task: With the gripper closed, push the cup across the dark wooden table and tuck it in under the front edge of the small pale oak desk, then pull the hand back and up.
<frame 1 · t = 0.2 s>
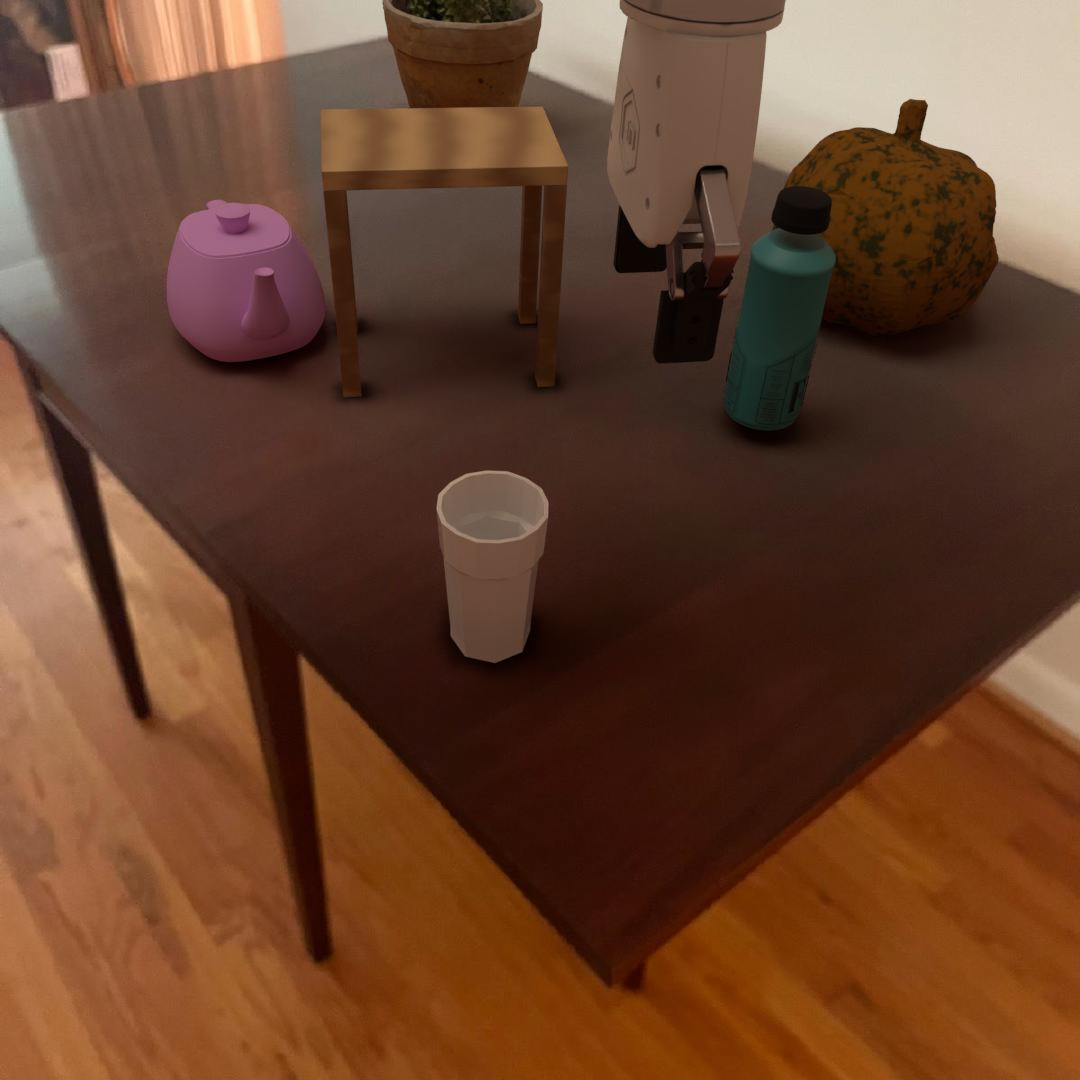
hand: (659, 312, 59), 21 cm above the table, tool pointing down, fingers open, 9 cm apart
decorative pumpkin: (864, 308, 104), on the table
beverage bottle: (755, 425, 88), on the table
cup: (490, 634, 69), on the table
desk: (444, 354, 94), on the table
teapot: (255, 339, 94), on the table
potted plant: (464, 137, 131), on the table
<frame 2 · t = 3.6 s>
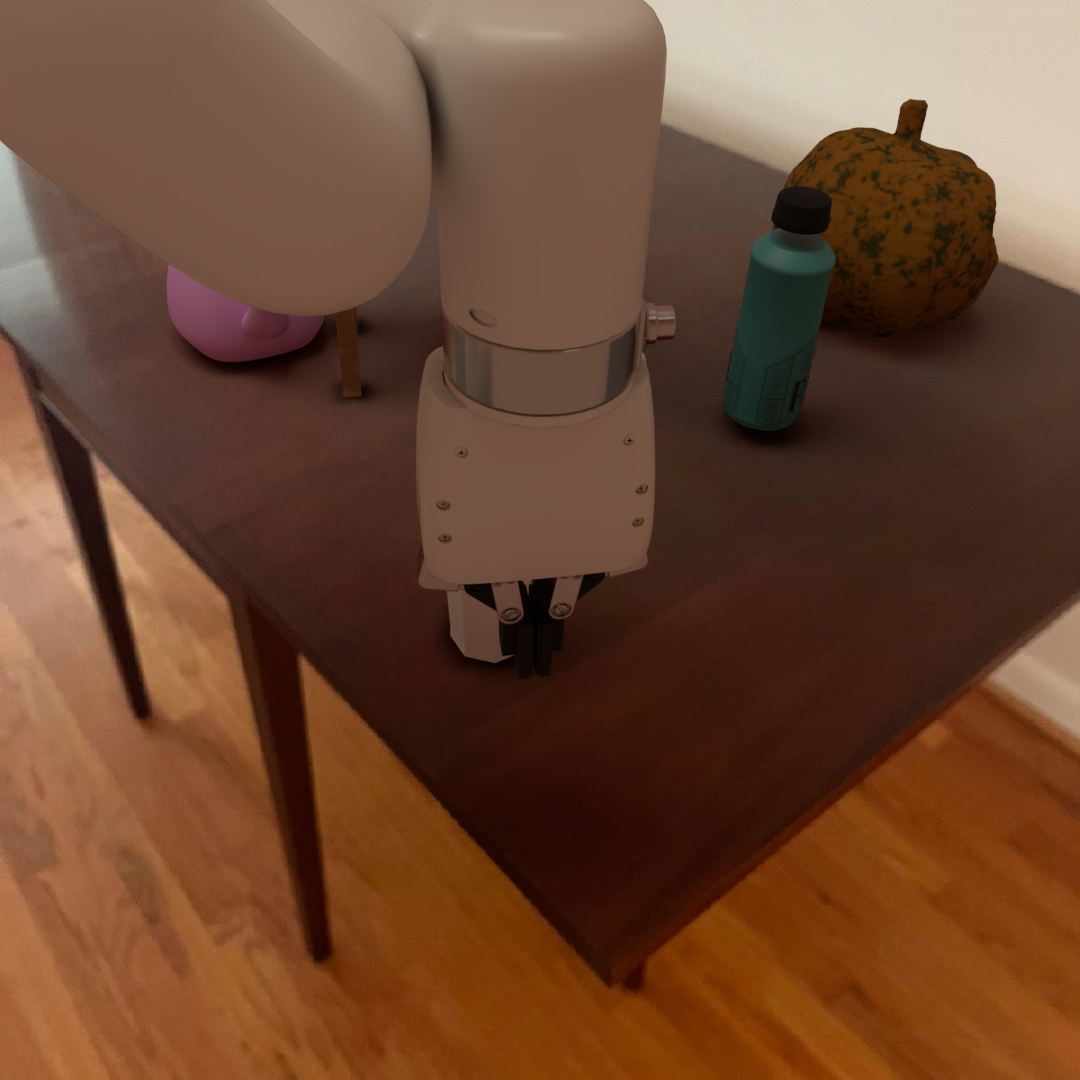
hand: (529, 656, 53), 11 cm above the table, tool pointing down, fingers closed
nothing on the table moved.
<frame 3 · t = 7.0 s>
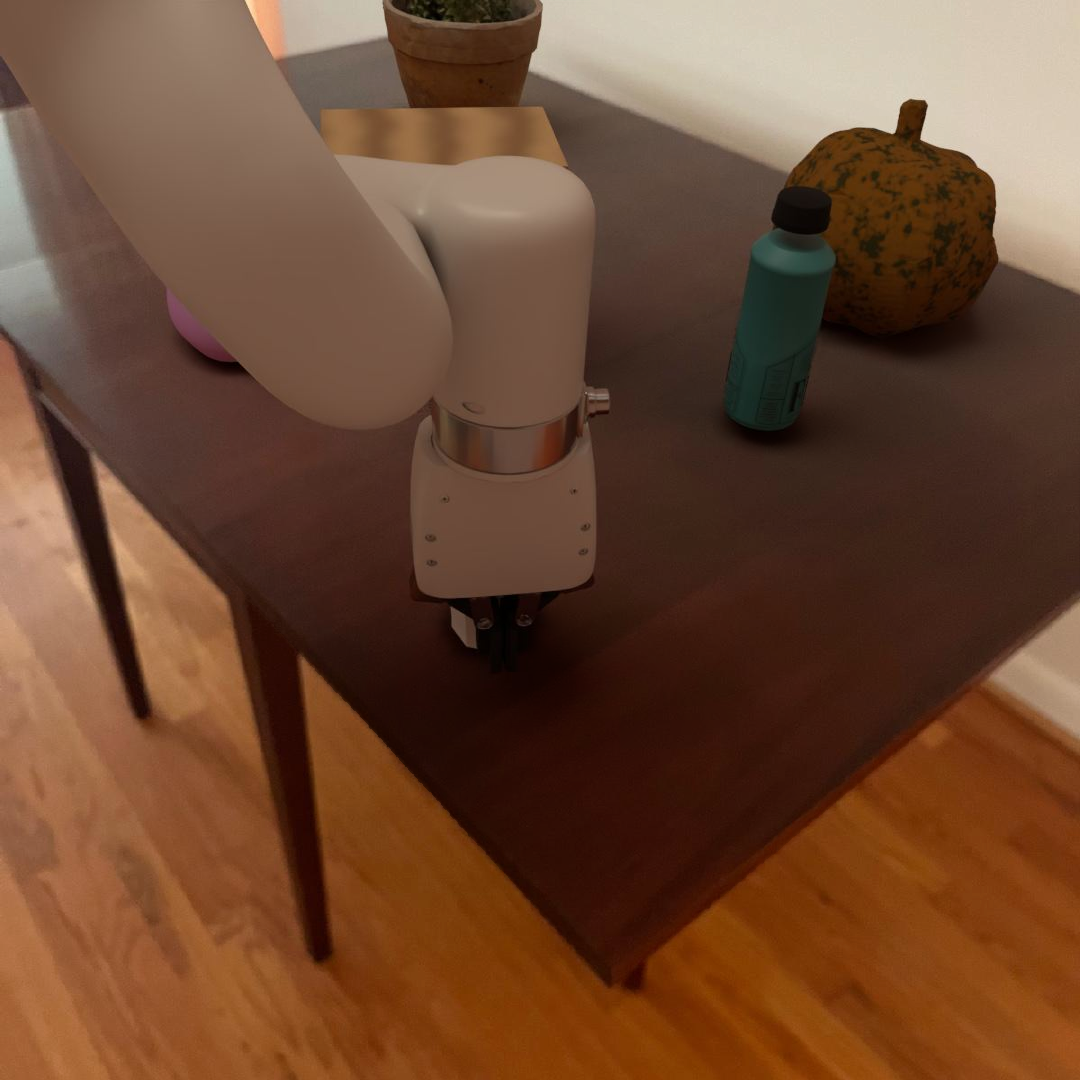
hand: (500, 655, 65), 2 cm above the table, tool pointing down, fingers closed
cup: (491, 625, 70), on the table, touching gripper
everything else where it was.
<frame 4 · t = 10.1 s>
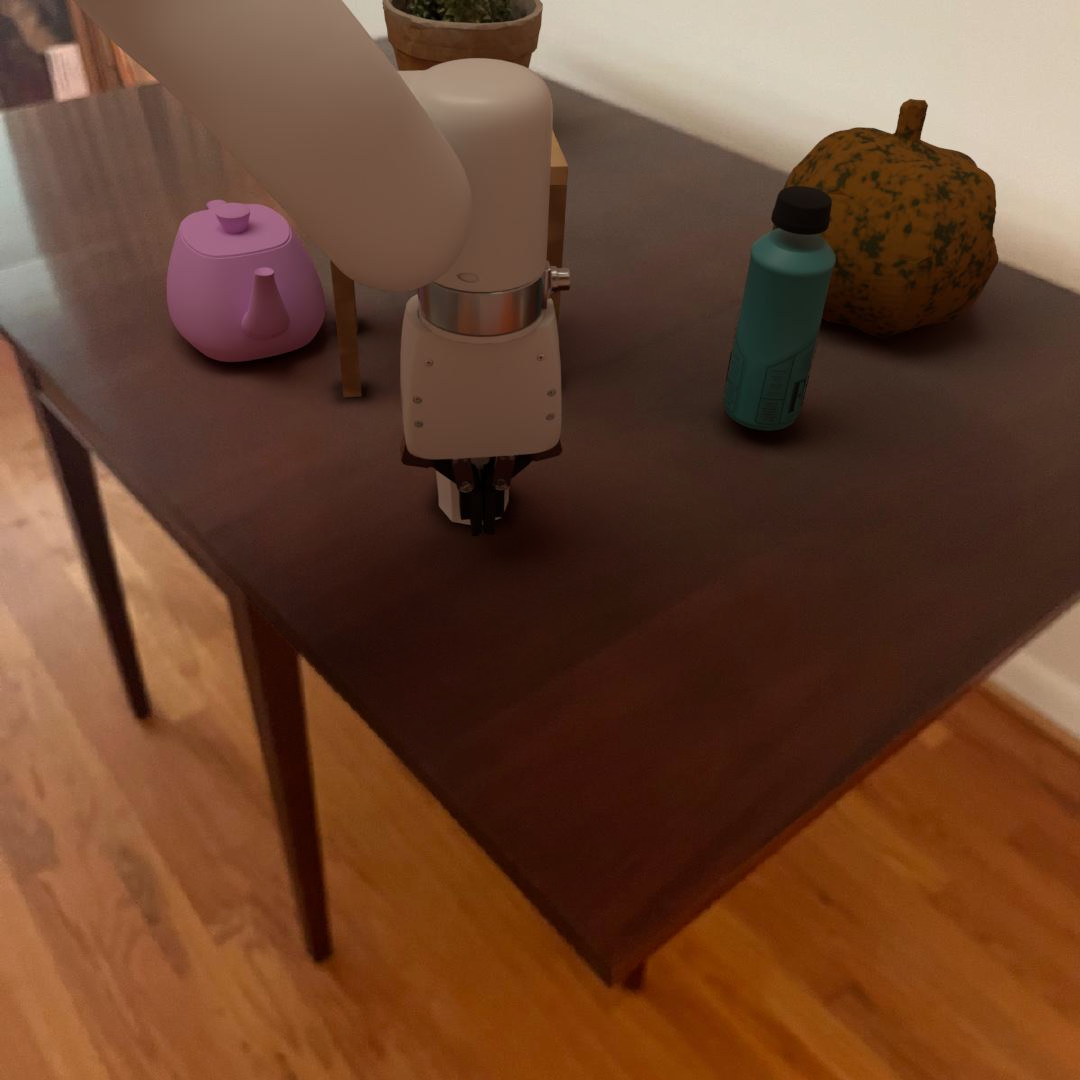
hand: (481, 522, 74), 2 cm above the table, tool pointing down, fingers closed
cup: (473, 505, 79), on the table, touching gripper
everything else where it was.
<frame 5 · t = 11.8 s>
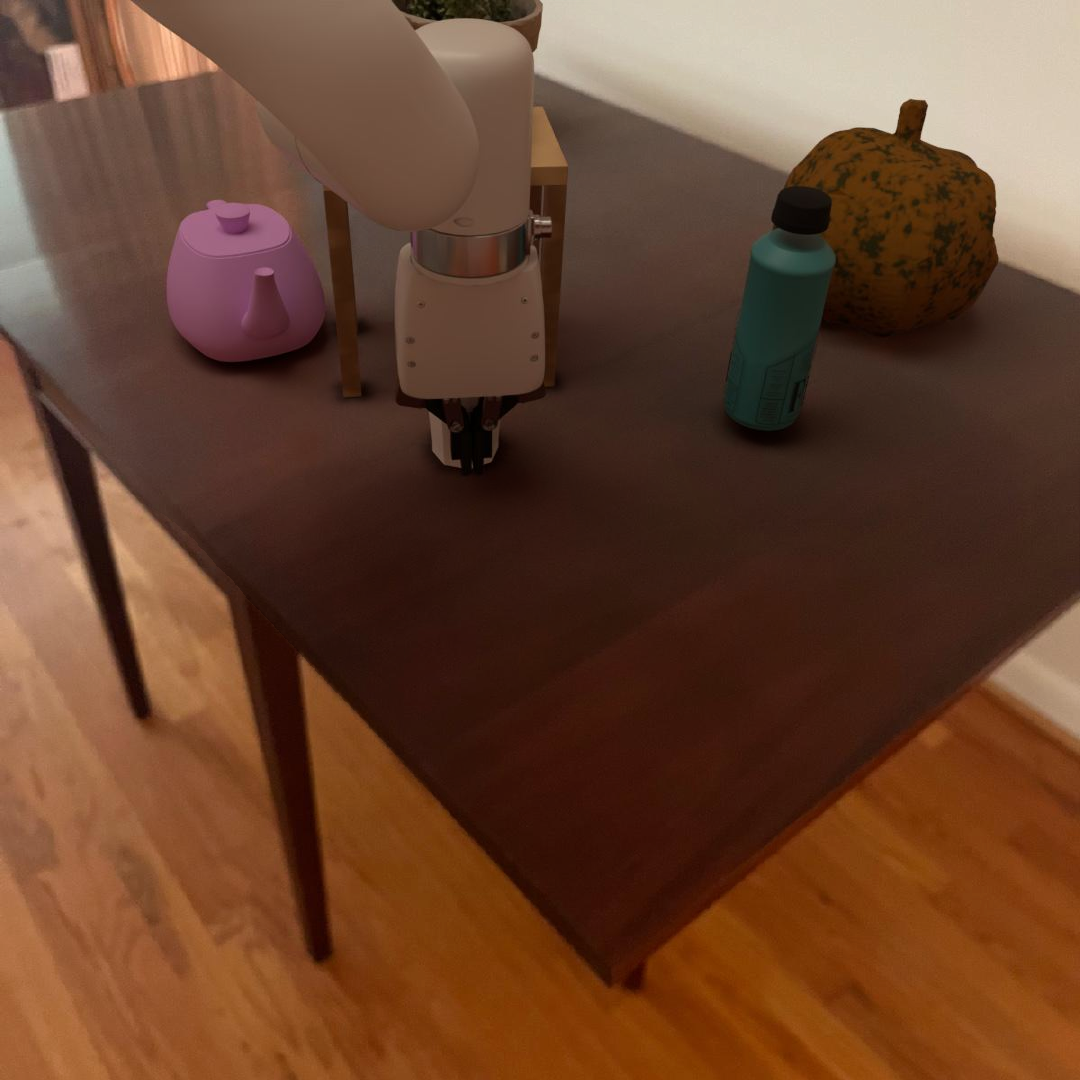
hand: (471, 463, 79), 2 cm above the table, tool pointing down, fingers closed
cup: (465, 450, 84), on the table, touching gripper
everything else where it was.
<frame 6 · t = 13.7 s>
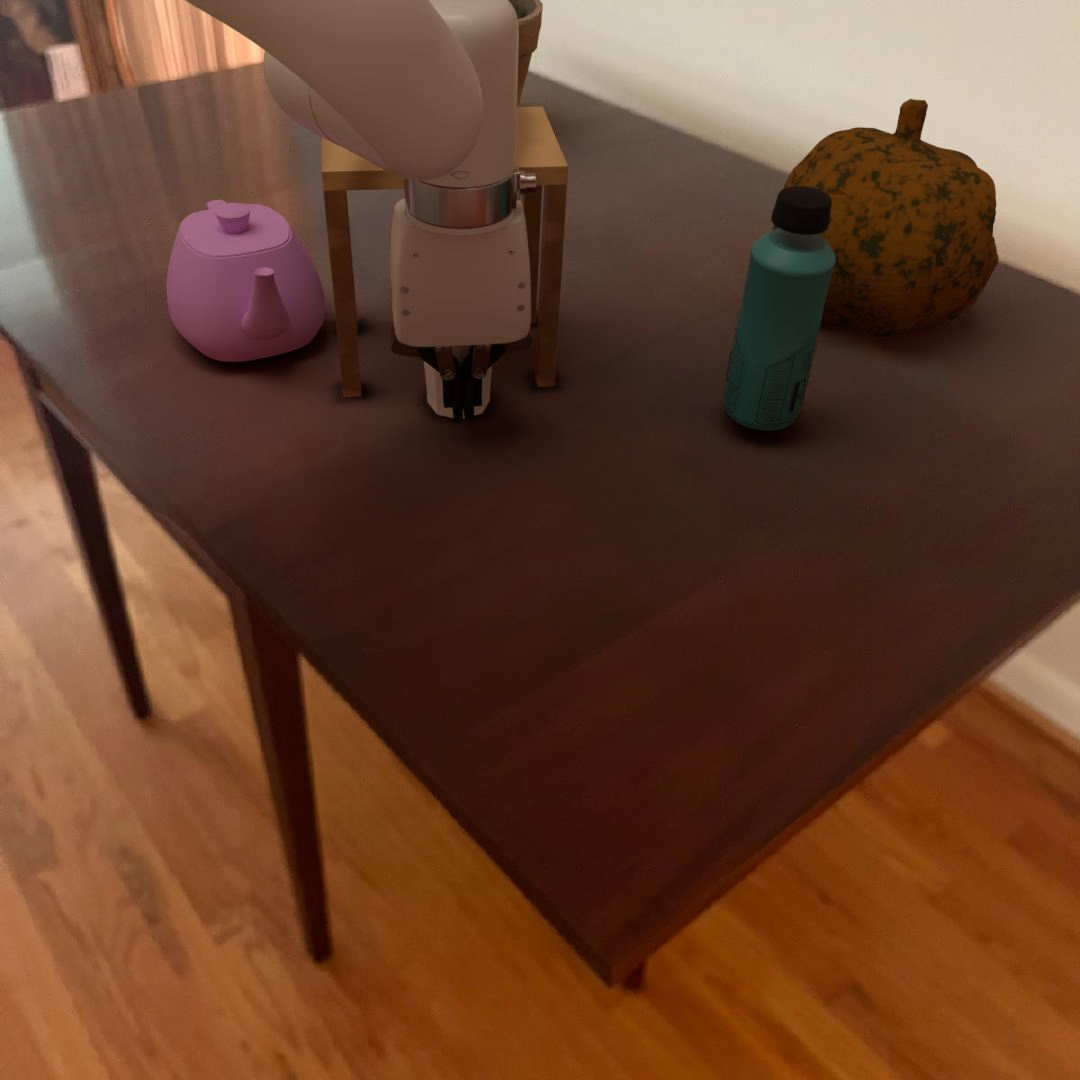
hand: (462, 411, 84), 2 cm above the table, tool pointing down, fingers closed
cup: (458, 403, 89), on the table, touching gripper
everything else where it was.
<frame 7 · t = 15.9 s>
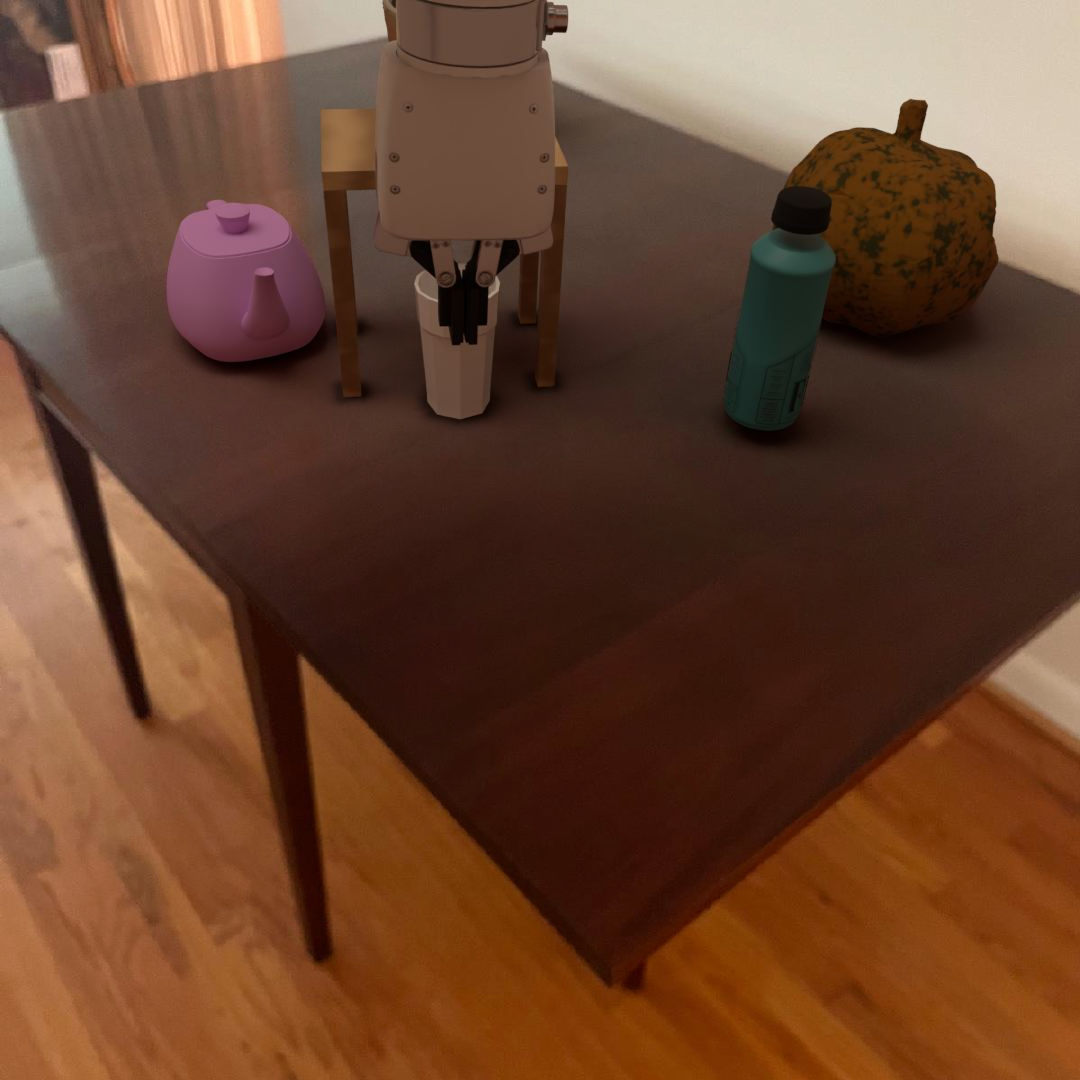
hand: (462, 333, 67), 16 cm above the table, tool pointing down, fingers closed
cup: (458, 402, 89), on the table
everything else where it was.
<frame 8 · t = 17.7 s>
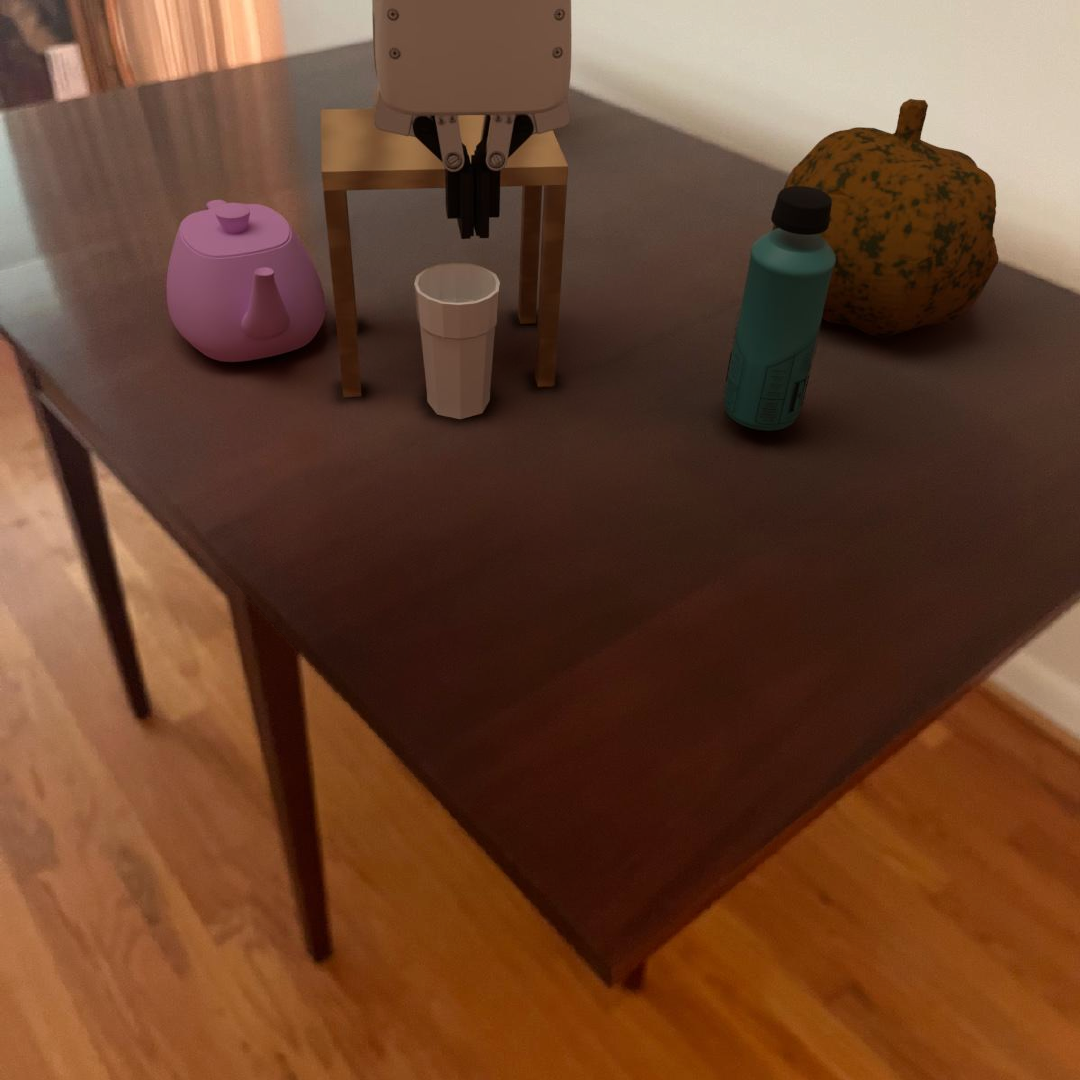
hand: (472, 227, 61), 23 cm above the table, tool pointing down, fingers closed
nothing on the table moved.
at the end: cup inside the target area on the desk (5.4 cm from its centre), point 0.0 cm above the desk's base; cup tilted 0° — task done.
